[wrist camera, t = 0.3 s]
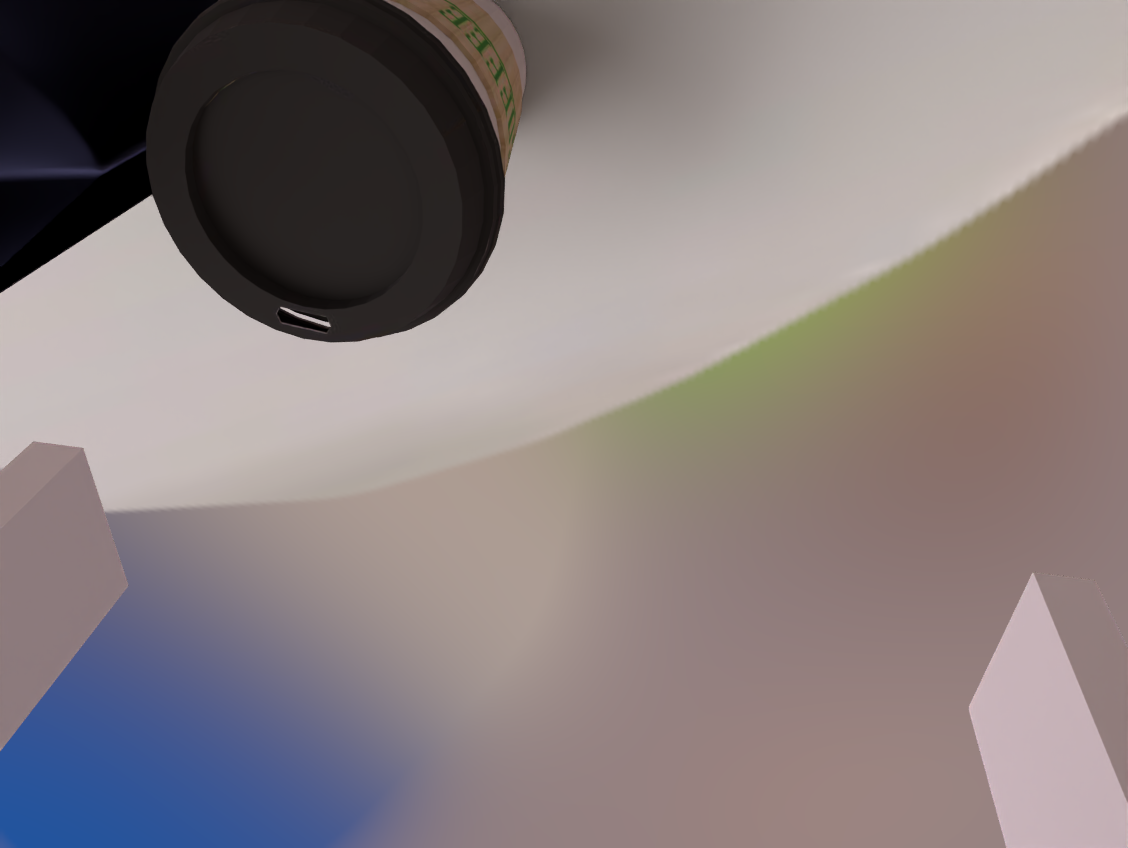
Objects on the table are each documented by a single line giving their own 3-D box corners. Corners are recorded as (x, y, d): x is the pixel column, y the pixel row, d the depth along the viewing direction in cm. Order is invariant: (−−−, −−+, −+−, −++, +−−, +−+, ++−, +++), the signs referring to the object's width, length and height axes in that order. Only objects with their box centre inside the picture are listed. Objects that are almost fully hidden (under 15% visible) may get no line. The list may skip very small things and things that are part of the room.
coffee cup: (594, -44, 32) (514, 39, 20) (550, 210, 38) (467, 396, 26) (332, -100, 32) (95, -53, 20) (328, 161, 38) (140, 321, 26)
